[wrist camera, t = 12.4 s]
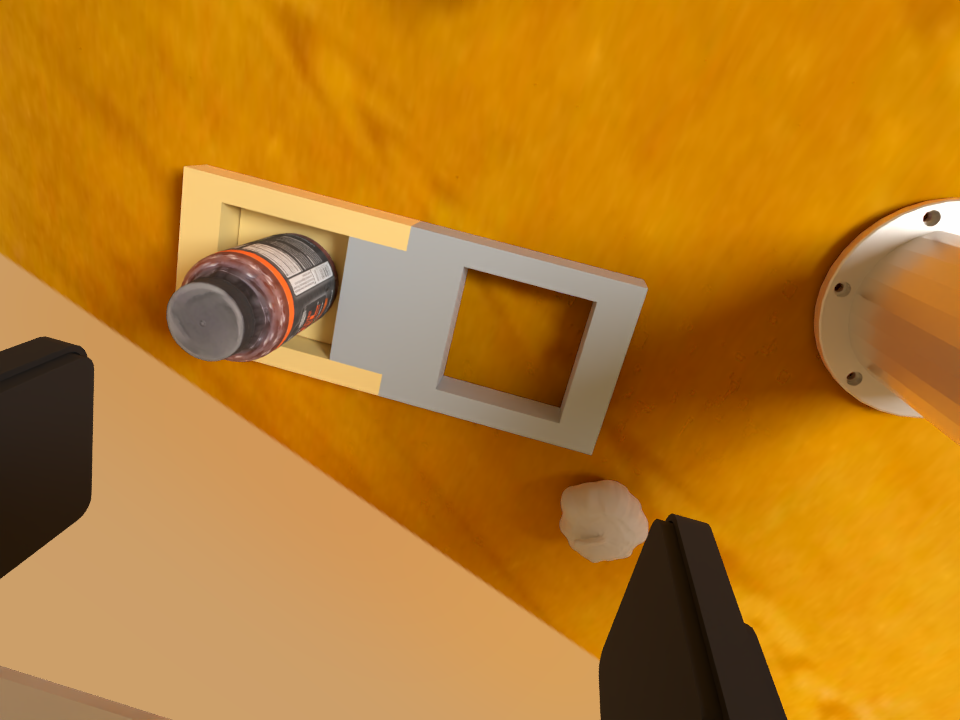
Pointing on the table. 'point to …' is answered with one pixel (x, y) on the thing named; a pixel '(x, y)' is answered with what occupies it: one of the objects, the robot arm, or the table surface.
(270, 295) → the supplement bottle
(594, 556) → the garlic
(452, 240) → the beige and grey tray
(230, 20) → the table surface
